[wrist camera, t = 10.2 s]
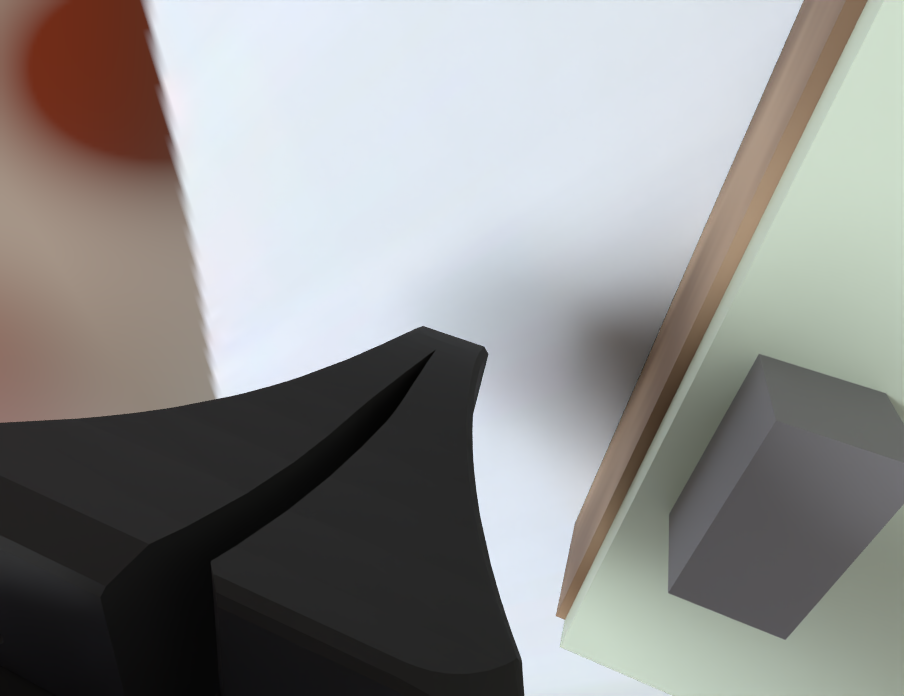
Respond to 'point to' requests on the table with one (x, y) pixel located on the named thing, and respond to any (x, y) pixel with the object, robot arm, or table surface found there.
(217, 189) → the table surface
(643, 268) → the table surface
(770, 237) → the lid
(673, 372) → the brown wooden shallow box
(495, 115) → the table surface
